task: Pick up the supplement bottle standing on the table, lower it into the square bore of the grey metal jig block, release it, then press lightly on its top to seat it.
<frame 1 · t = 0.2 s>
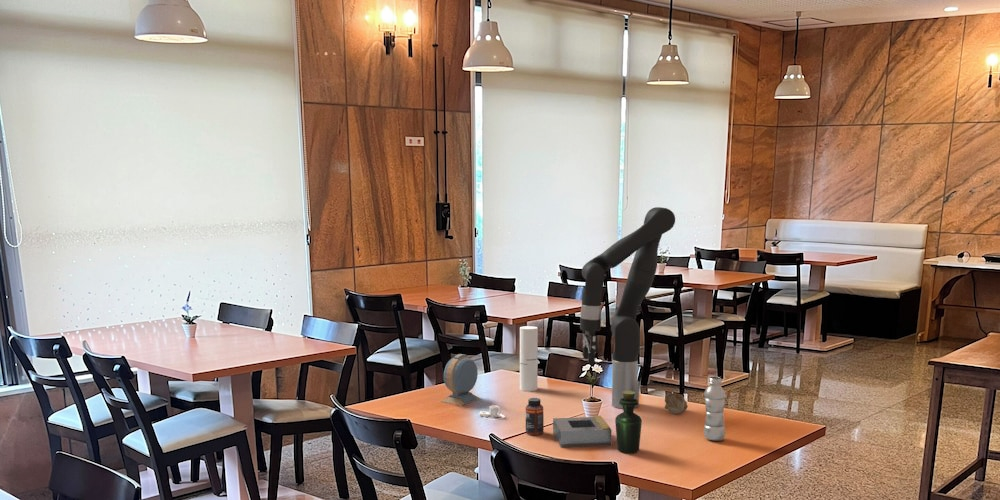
hand: (588, 360, 281), 17 cm above the table, tool pointing down, fingers open, 8 cm apart
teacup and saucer: (491, 416, 274), on the table
grey brown rock: (675, 412, 276), on the table
cylindrical container: (528, 389, 309), on the table
alarm clock: (460, 400, 293), on the table
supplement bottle: (534, 433, 252), on the table
potion bottle: (628, 450, 235), on the table
jig: (581, 439, 246), on the table
plastic bottle: (714, 440, 245), on the table
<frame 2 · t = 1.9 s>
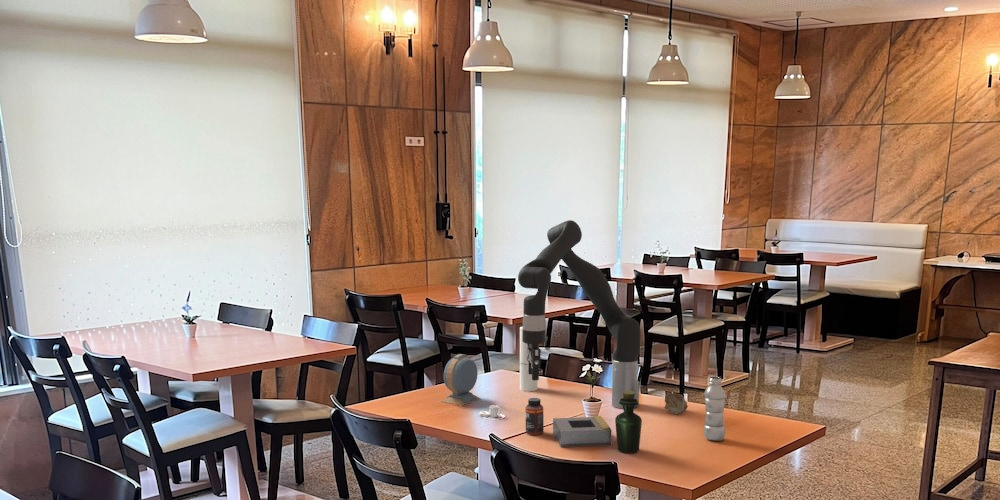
hand: (533, 377, 251), 19 cm above the table, tool pointing down, fingers open, 8 cm apart
nothing on the table moved.
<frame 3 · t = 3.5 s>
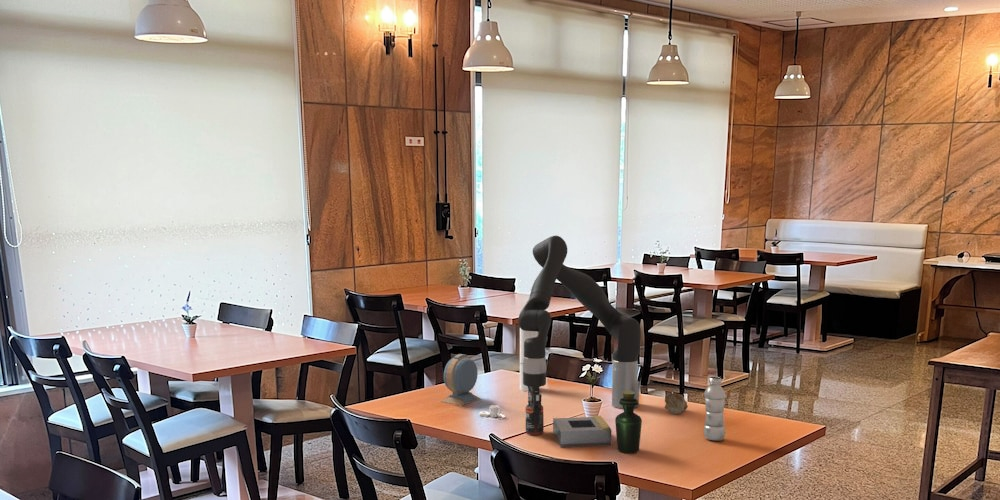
hand: (534, 420, 252), 4 cm above the table, tool pointing down, fingers closed on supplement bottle, 6 cm apart
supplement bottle: (534, 433, 252), on the table, touching gripper
everything else where it was.
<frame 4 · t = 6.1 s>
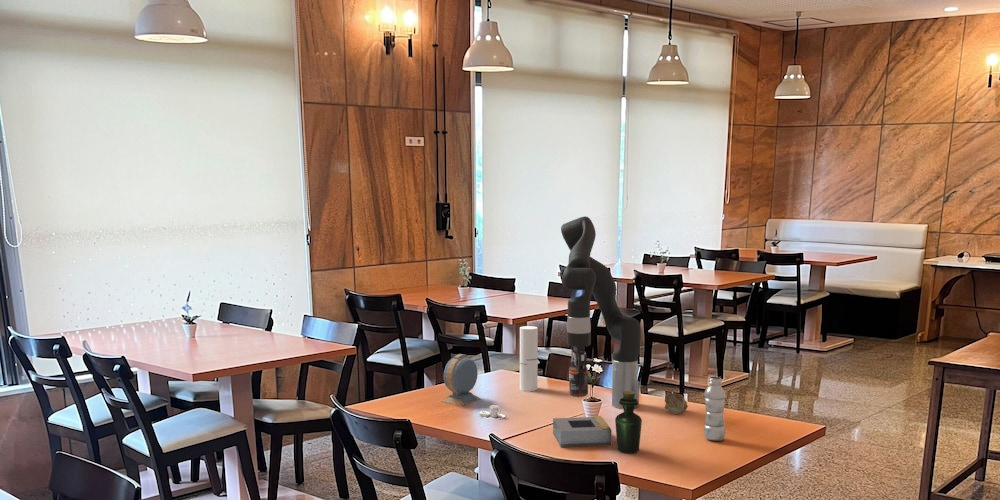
hand: (578, 382, 245), 18 cm above the table, tool pointing down, fingers closed on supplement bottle, 6 cm apart
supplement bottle: (578, 395, 245), point 14 cm above the table, touching gripper
everything else where it was.
when the fingers open (6 cm above the table, at t = 8.6 s): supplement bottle stays where it is, resting on jig.
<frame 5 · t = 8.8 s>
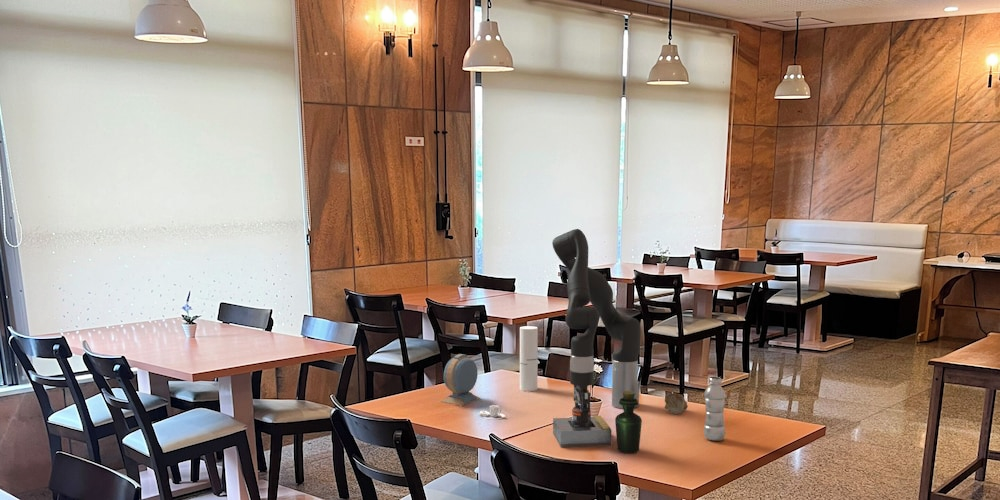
hand: (581, 419, 245), 6 cm above the table, tool pointing down, fingers open, 7 cm apart
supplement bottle: (581, 436, 246), point 1 cm above the table, touching jig
everything else where it was.
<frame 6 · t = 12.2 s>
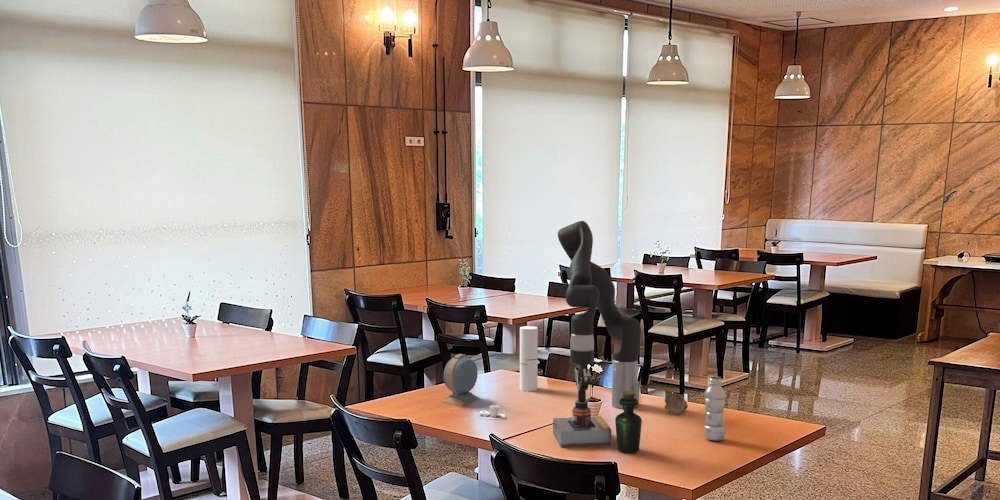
hand: (581, 401, 245), 12 cm above the table, tool pointing down, fingers closed
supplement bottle: (581, 436, 246), point 1 cm above the table, touching gripper, jig
everything else where it was.
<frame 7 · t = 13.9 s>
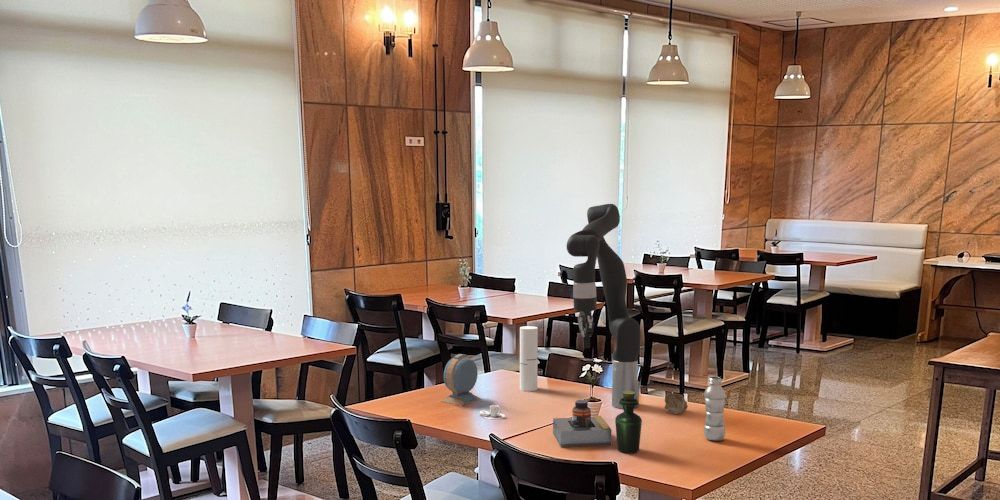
hand: (586, 347, 253), 28 cm above the table, tool pointing down, fingers closed
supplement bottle: (581, 436, 246), point 1 cm above the table, touching jig
everything else where it was.
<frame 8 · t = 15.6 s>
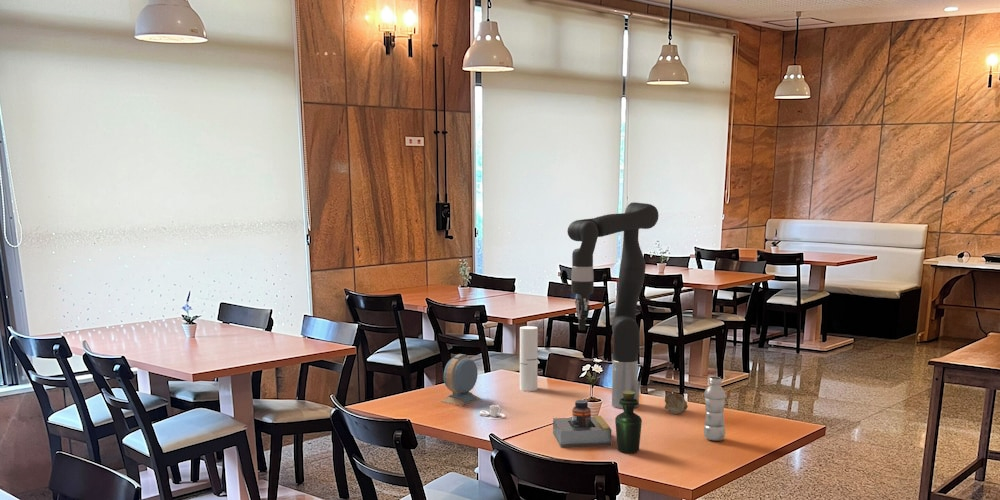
hand: (582, 329, 263), 32 cm above the table, tool pointing down, fingers closed
nothing on the table moved.
at the end: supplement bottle 0.1 cm off-centre on the jig, point 0.8 cm above the jig's base; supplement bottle tilted 0°; the gripper is holding nothing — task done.
